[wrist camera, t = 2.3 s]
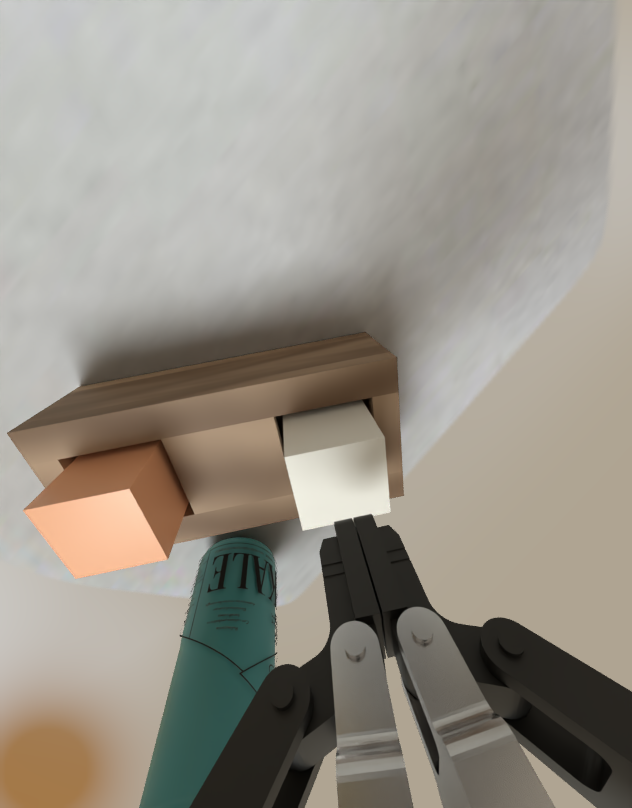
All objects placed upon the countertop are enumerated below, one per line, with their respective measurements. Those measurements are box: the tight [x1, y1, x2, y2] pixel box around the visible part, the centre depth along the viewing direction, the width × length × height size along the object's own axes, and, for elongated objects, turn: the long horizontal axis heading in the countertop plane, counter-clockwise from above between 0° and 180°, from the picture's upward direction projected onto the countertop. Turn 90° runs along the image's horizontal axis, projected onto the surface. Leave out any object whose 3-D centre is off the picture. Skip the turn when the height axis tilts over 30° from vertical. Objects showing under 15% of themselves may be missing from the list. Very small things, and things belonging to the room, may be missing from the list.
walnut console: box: [7, 332, 404, 544], centre depth 20 cm, size 9×19×6 cm, turn 99°
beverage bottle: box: [139, 537, 277, 808], centre depth 19 cm, size 6×7×20 cm
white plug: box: [283, 399, 390, 531], centre depth 16 cm, size 4×4×5 cm
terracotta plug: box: [23, 439, 189, 579], centre depth 16 cm, size 4×4×5 cm
